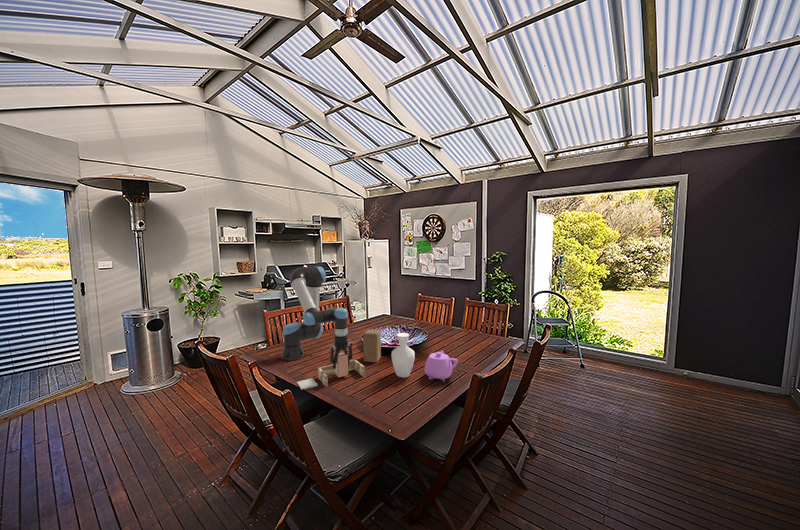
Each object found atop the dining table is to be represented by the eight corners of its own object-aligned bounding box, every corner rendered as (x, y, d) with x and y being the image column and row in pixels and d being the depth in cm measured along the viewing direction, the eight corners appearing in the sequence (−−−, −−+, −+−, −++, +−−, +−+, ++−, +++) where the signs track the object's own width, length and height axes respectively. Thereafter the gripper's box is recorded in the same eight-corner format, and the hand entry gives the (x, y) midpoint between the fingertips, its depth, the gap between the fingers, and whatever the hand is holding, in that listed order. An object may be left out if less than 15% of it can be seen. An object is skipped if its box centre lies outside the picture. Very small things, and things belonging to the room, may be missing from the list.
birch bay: (317, 377, 180) (317, 367, 179) (355, 368, 193) (355, 359, 192) (325, 386, 168) (325, 376, 168) (364, 376, 181) (364, 366, 181)
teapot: (460, 371, 189) (460, 348, 188) (455, 385, 170) (455, 359, 169) (429, 367, 195) (429, 344, 194) (421, 380, 176) (421, 355, 175)
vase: (388, 371, 188) (387, 332, 186) (408, 368, 193) (408, 330, 191) (396, 381, 175) (396, 339, 173) (418, 377, 180) (418, 336, 178)
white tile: (297, 382, 173) (297, 381, 173) (312, 379, 178) (312, 378, 178) (301, 390, 164) (301, 388, 164) (317, 385, 169) (317, 384, 169)
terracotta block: (334, 373, 181) (334, 354, 180) (344, 371, 185) (344, 352, 184) (338, 377, 176) (338, 357, 175) (348, 375, 180) (347, 355, 179)
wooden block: (377, 363, 201) (377, 334, 200) (363, 361, 203) (362, 333, 202) (381, 357, 211) (381, 329, 210) (367, 356, 213) (367, 328, 212)
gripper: (327, 339, 170) (328, 378, 172) (358, 333, 180) (358, 370, 182) (323, 335, 176) (323, 373, 178) (353, 330, 187) (353, 366, 189)
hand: (341, 371), depth 180 cm, fingers closed on terracotta block, 6 cm apart
